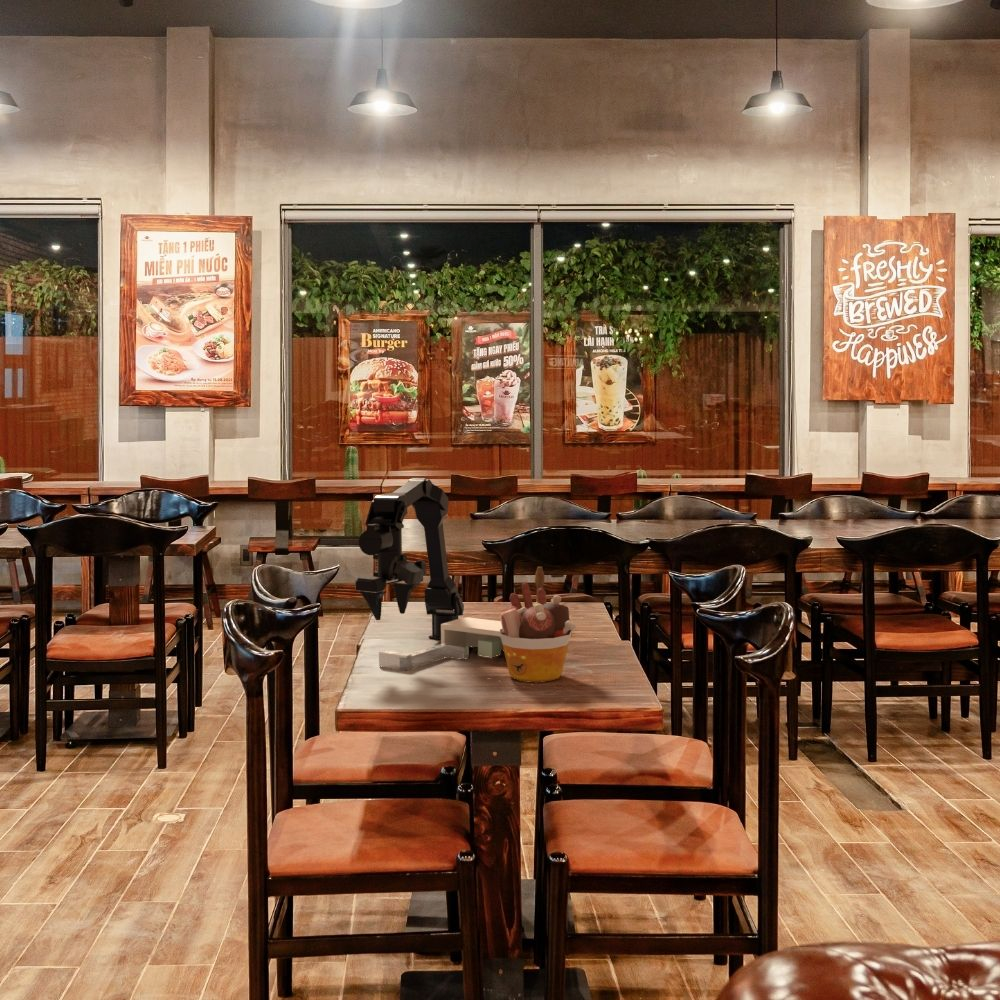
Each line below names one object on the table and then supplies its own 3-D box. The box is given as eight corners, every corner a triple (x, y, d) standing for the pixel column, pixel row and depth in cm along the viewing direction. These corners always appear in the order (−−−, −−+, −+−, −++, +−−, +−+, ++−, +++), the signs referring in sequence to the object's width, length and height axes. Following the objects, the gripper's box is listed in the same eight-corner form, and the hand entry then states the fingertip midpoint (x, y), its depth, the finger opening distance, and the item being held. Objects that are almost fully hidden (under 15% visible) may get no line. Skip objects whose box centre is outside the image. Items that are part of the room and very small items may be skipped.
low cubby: (441, 653, 281) (440, 624, 280) (465, 645, 290) (464, 617, 289) (511, 662, 270) (510, 632, 270) (533, 654, 279) (533, 625, 279)
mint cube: (478, 656, 278) (477, 640, 277) (486, 653, 281) (486, 637, 281) (492, 658, 275) (491, 642, 275) (500, 655, 279) (500, 639, 278)
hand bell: (557, 622, 319) (557, 565, 317) (549, 627, 311) (549, 569, 310) (529, 620, 322) (529, 563, 320) (520, 626, 314) (520, 568, 312)
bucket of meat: (582, 685, 249) (582, 594, 247) (507, 689, 246) (506, 597, 244) (560, 664, 268) (560, 580, 267) (490, 668, 265) (490, 582, 264)
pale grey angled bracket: (379, 666, 267) (378, 652, 267) (424, 652, 282) (424, 638, 282) (424, 673, 260) (424, 658, 260) (468, 658, 276) (468, 643, 275)
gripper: (392, 557, 252) (393, 627, 254) (441, 547, 268) (442, 613, 269) (353, 553, 258) (354, 622, 259) (403, 544, 274) (403, 609, 275)
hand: (390, 616), depth 266 cm, fingers open, 9 cm apart
